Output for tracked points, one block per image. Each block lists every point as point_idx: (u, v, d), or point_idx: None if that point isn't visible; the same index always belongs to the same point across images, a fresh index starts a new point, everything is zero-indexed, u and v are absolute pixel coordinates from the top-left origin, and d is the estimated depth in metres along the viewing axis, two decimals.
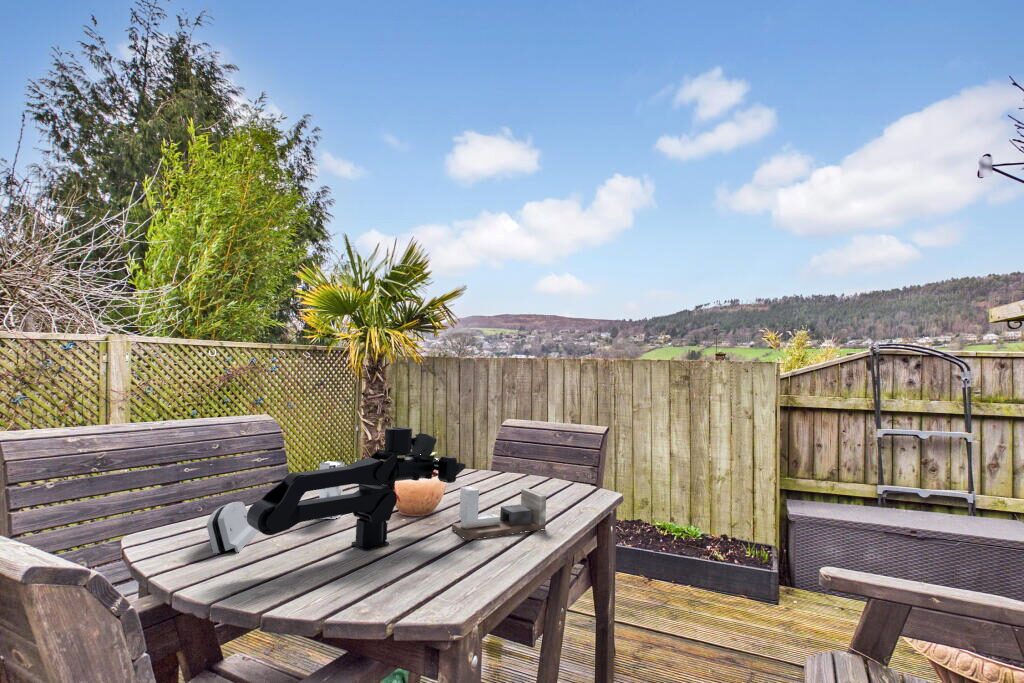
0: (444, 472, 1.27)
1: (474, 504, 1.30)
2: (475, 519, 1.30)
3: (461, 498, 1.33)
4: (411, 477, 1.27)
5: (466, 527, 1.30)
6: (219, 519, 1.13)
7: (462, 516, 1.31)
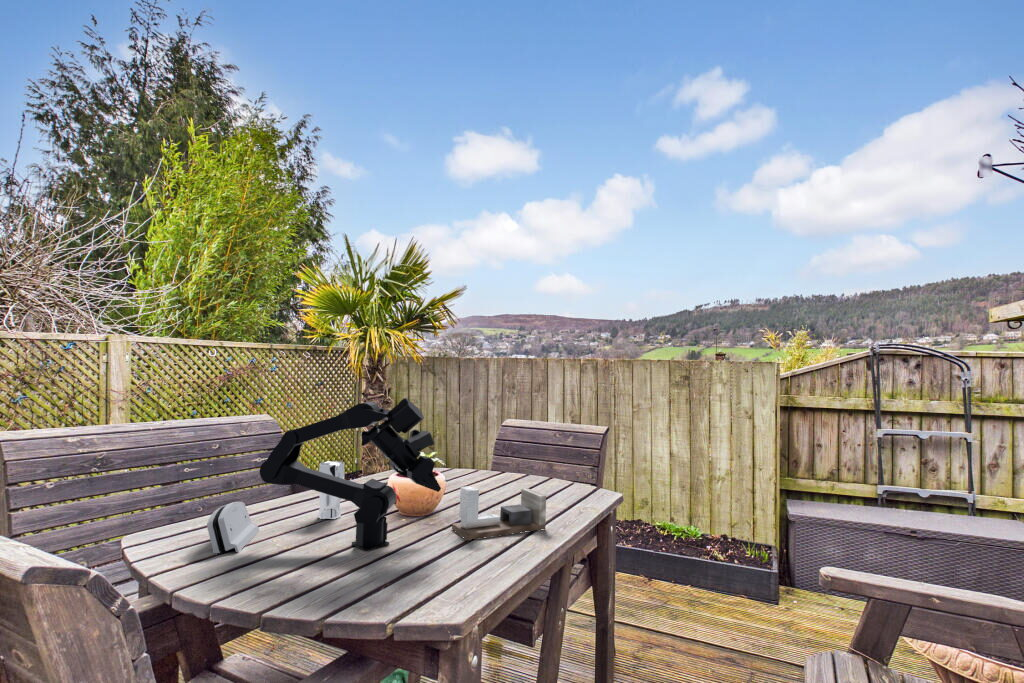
0: (415, 466, 1.18)
1: (474, 504, 1.30)
2: (475, 519, 1.30)
3: (461, 498, 1.33)
4: (387, 452, 1.20)
5: (466, 527, 1.30)
6: (219, 519, 1.13)
7: (462, 516, 1.31)
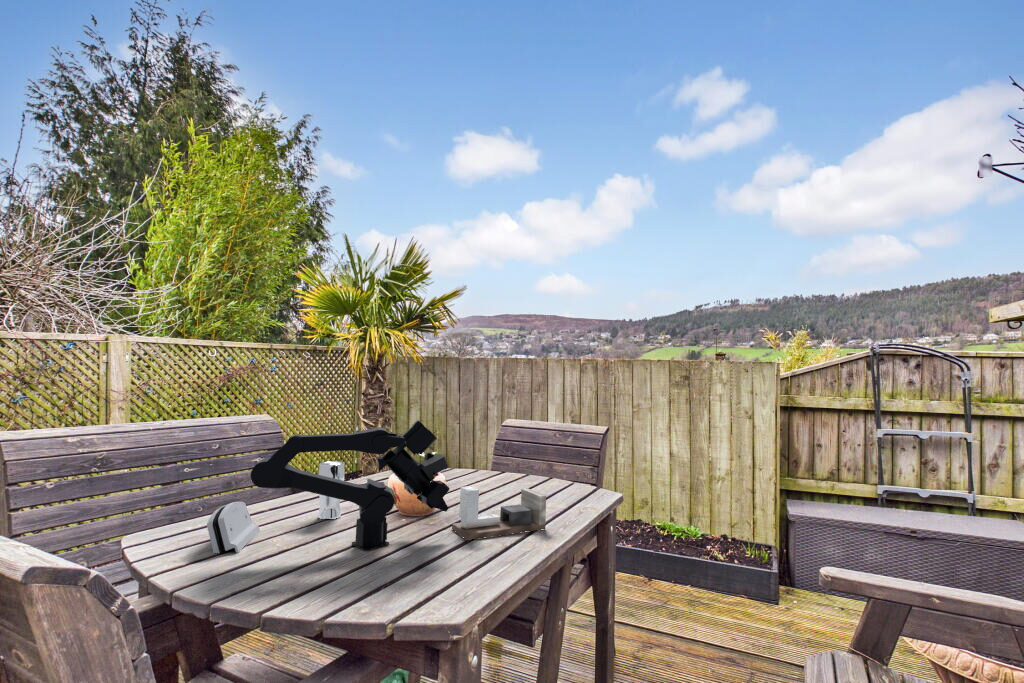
0: (430, 491, 1.19)
1: (474, 504, 1.30)
2: (475, 519, 1.30)
3: (461, 498, 1.33)
4: (402, 476, 1.22)
5: (466, 527, 1.30)
6: (219, 519, 1.13)
7: (462, 516, 1.31)
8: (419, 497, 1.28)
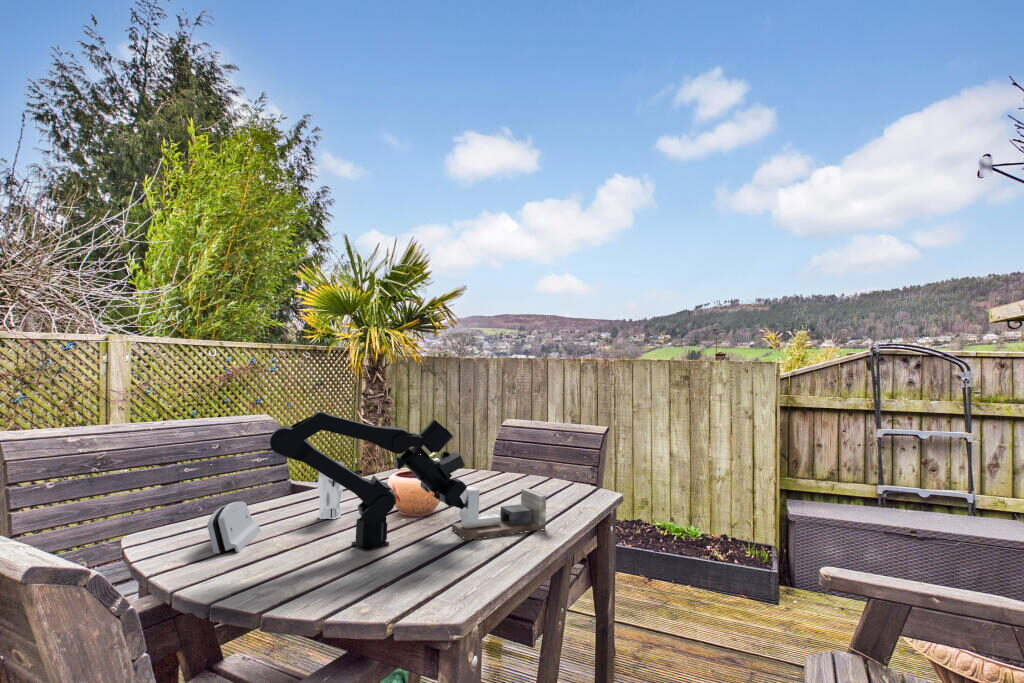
0: (448, 489, 1.21)
1: (474, 504, 1.30)
2: (476, 519, 1.30)
3: (462, 498, 1.33)
4: (420, 474, 1.24)
5: (467, 527, 1.30)
6: (219, 519, 1.13)
7: (463, 516, 1.31)
8: (436, 495, 1.30)
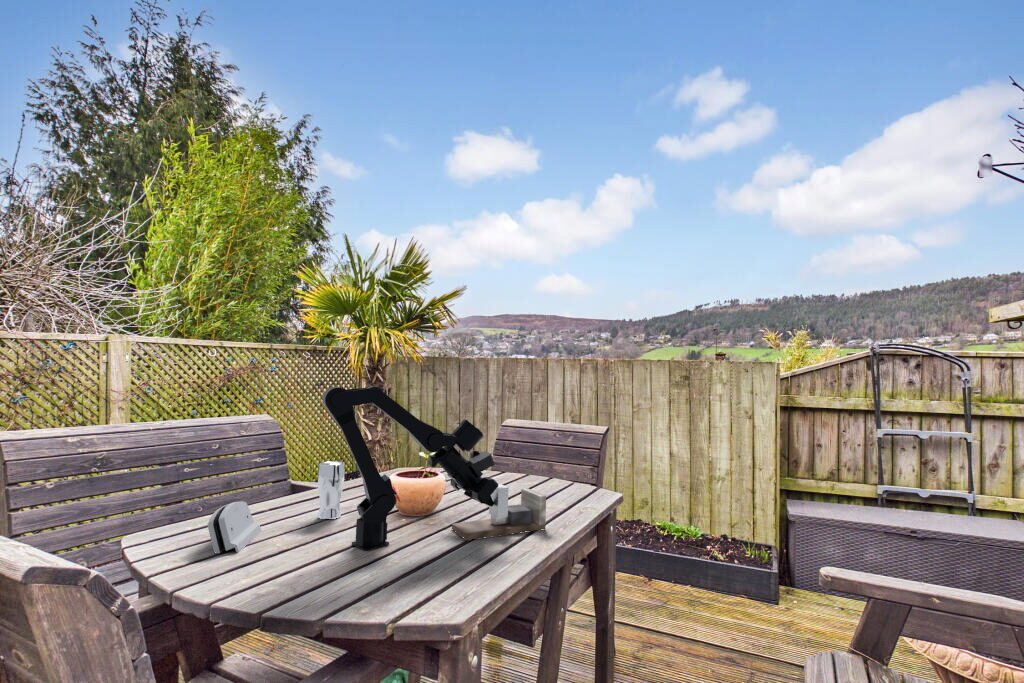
0: (480, 487, 1.25)
1: (504, 501, 1.34)
2: (505, 515, 1.34)
3: (491, 495, 1.37)
4: (453, 472, 1.28)
5: (496, 523, 1.34)
6: (220, 519, 1.13)
7: (492, 513, 1.36)
8: (466, 493, 1.34)
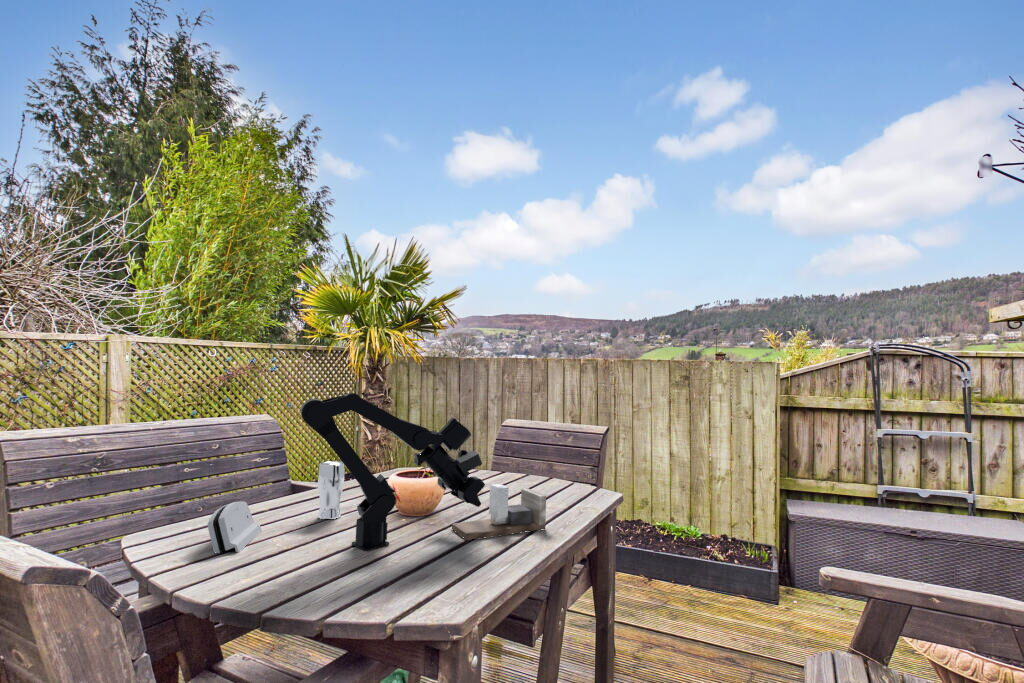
0: (466, 486, 1.23)
1: (504, 501, 1.34)
2: (505, 515, 1.34)
3: (491, 495, 1.37)
4: (439, 471, 1.26)
5: (496, 523, 1.34)
6: (220, 519, 1.13)
7: (492, 513, 1.36)
8: (453, 492, 1.32)
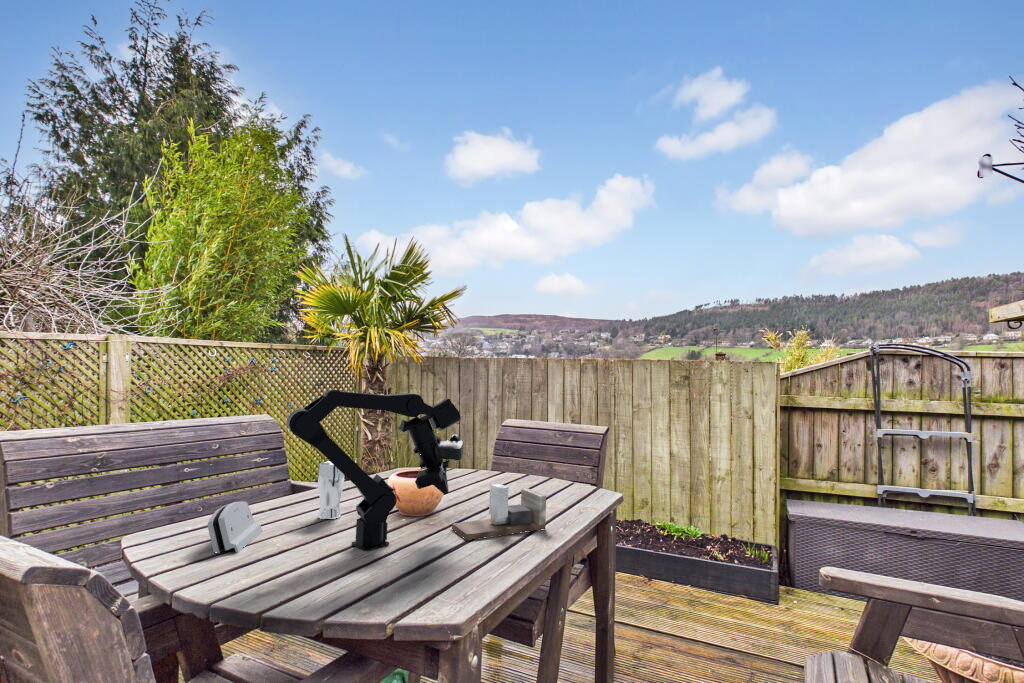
0: (424, 473, 1.22)
1: (504, 501, 1.34)
2: (505, 515, 1.34)
3: (491, 495, 1.37)
4: (415, 444, 1.26)
5: (496, 523, 1.34)
6: (220, 519, 1.13)
7: (492, 513, 1.36)
8: None
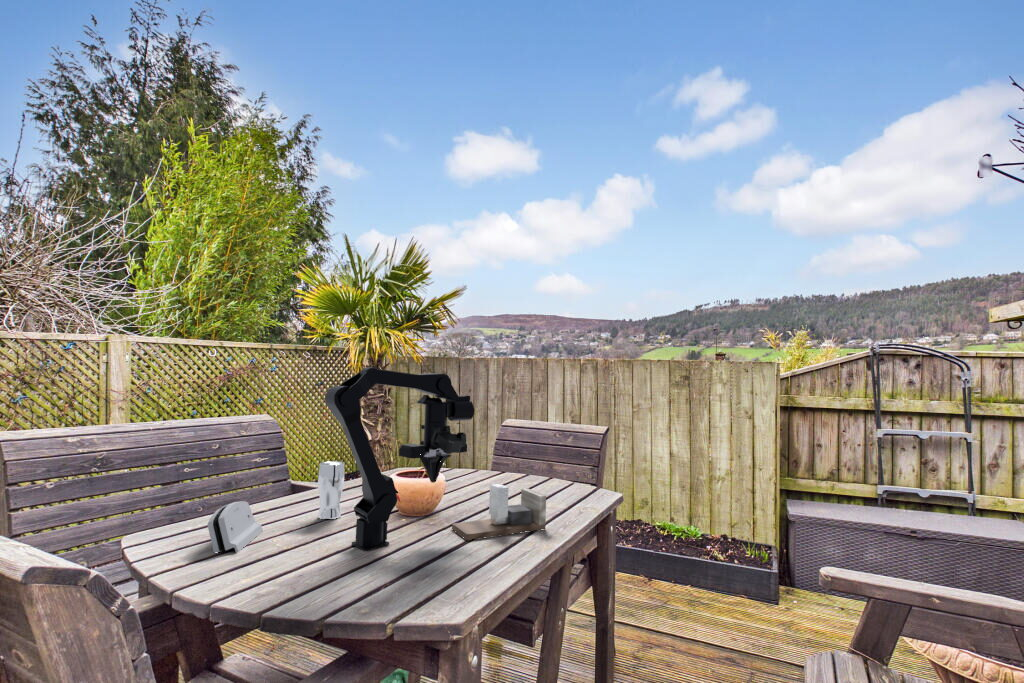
0: (409, 445, 1.26)
1: (504, 501, 1.34)
2: (505, 515, 1.34)
3: (491, 495, 1.37)
4: (424, 421, 1.32)
5: (496, 523, 1.34)
6: (220, 518, 1.14)
7: (492, 513, 1.36)
8: None
